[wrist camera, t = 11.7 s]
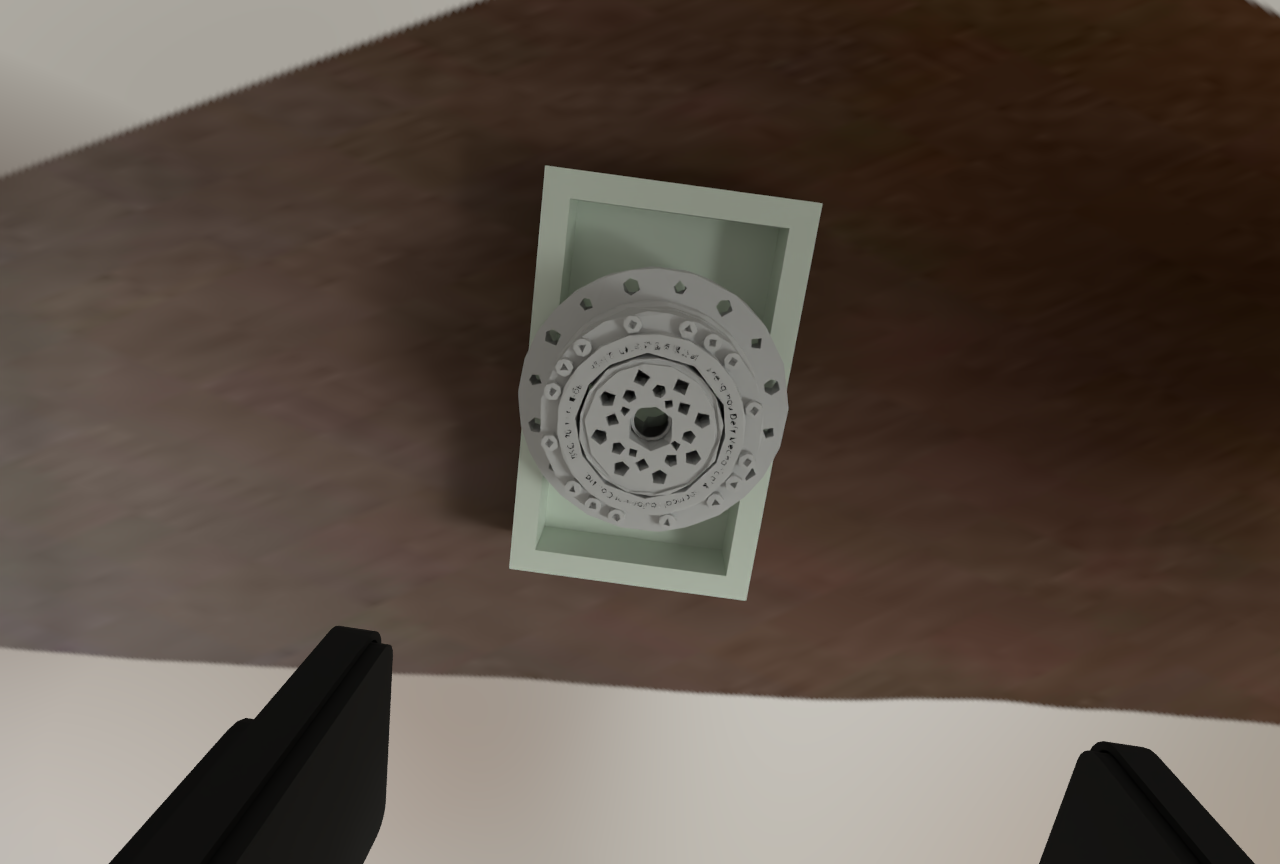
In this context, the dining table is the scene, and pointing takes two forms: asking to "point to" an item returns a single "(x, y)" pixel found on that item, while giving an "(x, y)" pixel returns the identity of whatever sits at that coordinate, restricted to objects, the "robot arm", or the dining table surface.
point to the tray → (736, 260)
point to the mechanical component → (653, 400)
